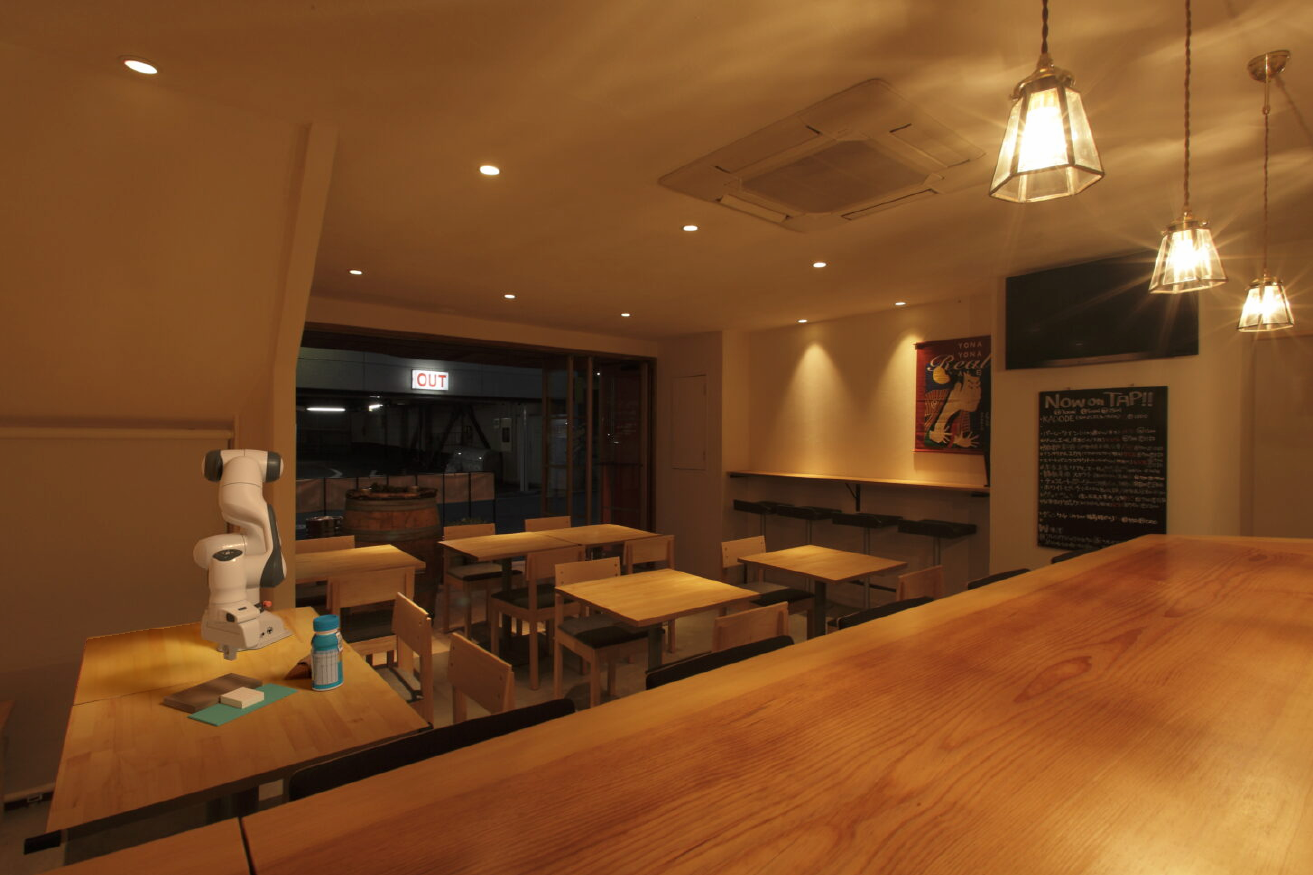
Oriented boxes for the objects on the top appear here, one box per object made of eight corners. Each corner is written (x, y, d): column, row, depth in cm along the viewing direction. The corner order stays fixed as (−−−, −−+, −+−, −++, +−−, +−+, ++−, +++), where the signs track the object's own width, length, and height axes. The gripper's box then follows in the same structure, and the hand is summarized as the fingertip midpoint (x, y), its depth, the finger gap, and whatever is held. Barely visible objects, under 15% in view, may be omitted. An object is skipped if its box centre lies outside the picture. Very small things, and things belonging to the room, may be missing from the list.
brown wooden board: (231, 679, 188) (231, 672, 188) (262, 686, 182) (262, 680, 182) (163, 704, 171) (163, 697, 171) (195, 713, 166) (195, 706, 166)
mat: (269, 684, 184) (269, 682, 184) (297, 691, 179) (297, 689, 179) (188, 717, 164) (188, 715, 164) (217, 726, 159) (217, 724, 159)
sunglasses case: (303, 658, 204) (314, 639, 204) (323, 667, 205) (334, 649, 206) (281, 681, 186) (293, 661, 187) (304, 691, 188) (316, 671, 188)
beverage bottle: (321, 694, 177) (319, 624, 176) (305, 687, 181) (303, 619, 181) (350, 683, 184) (348, 616, 183) (333, 677, 189) (331, 611, 188)
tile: (242, 693, 177) (242, 686, 177) (264, 699, 173) (263, 692, 173) (220, 702, 171) (220, 695, 171) (242, 708, 168) (241, 701, 167)
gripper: (193, 607, 174) (194, 656, 175) (240, 618, 166) (242, 669, 167) (217, 601, 180) (218, 649, 181) (264, 611, 172) (265, 661, 172)
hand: (230, 659), depth 173 cm, fingers closed
